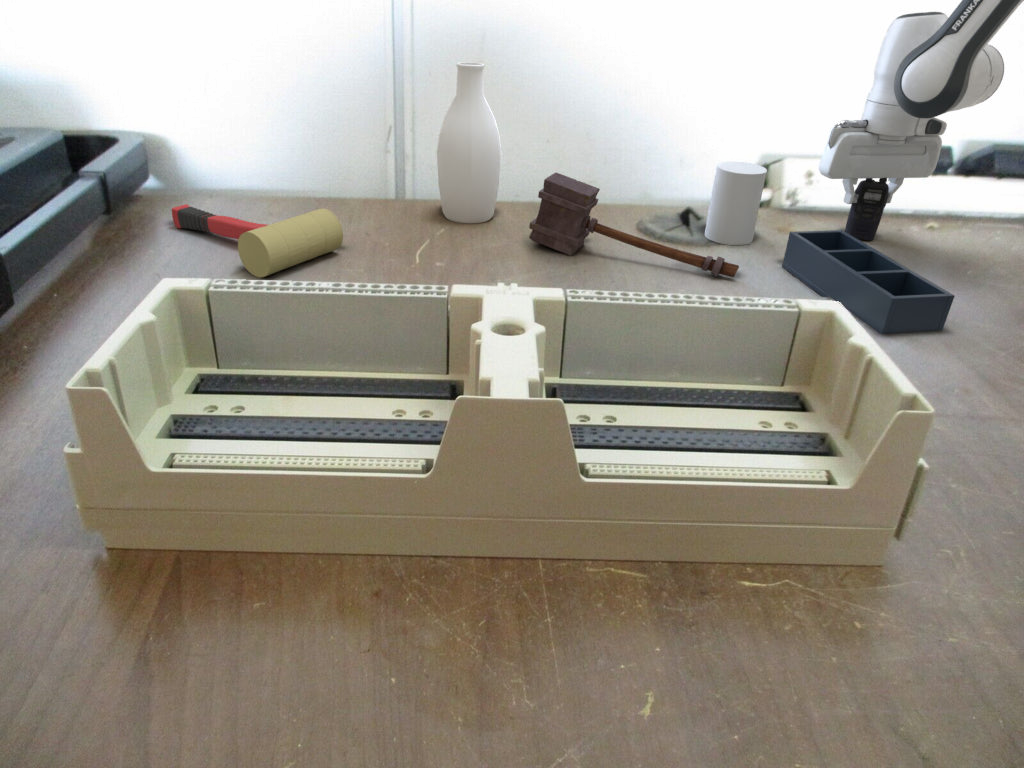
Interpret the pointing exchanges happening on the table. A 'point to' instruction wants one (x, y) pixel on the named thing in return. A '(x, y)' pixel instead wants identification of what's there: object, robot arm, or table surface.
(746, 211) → the white cylinder
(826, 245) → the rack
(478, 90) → the bottle
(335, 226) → the mallet
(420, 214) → the table surface
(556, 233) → the hammer
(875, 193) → the two-way radio
